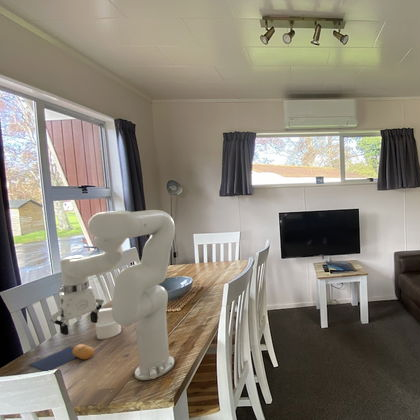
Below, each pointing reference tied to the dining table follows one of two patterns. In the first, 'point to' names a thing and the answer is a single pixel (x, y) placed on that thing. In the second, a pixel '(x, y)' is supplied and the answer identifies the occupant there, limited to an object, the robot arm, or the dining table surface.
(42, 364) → the napkin
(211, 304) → the dining table surface
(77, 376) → the dining table surface
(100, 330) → the base with upright slab
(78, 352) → the bread roll
